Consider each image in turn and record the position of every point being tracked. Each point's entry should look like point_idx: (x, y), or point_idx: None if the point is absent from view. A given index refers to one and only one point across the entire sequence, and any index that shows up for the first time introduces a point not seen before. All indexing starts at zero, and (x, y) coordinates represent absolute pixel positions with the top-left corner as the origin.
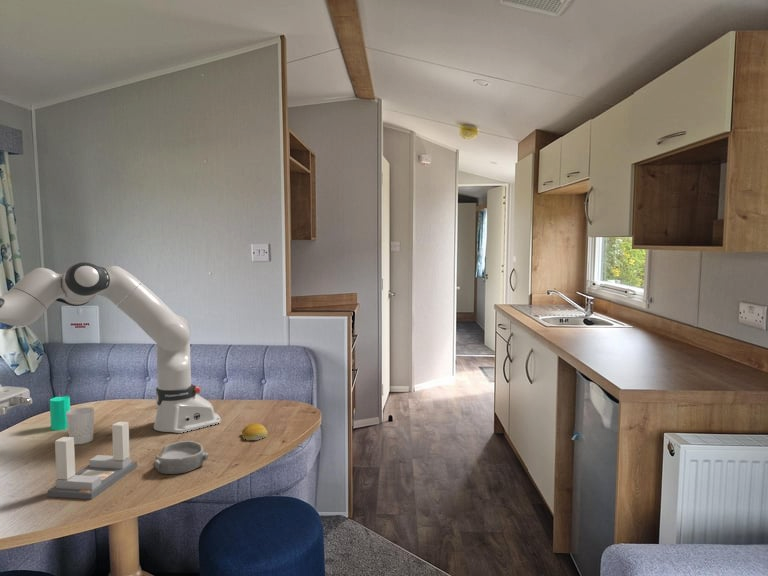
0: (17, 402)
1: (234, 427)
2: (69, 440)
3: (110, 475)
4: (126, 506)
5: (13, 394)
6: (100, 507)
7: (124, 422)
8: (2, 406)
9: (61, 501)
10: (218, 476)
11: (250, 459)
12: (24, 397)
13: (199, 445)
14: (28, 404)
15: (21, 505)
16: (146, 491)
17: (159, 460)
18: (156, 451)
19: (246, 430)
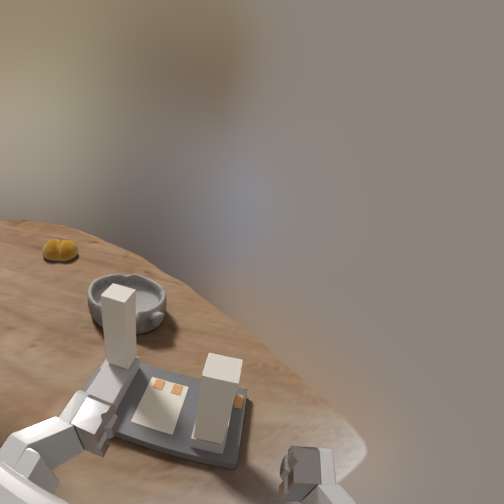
0: (48, 486)
1: (15, 263)
2: (227, 358)
3: (168, 380)
4: (265, 351)
5: (21, 481)
6: (271, 377)
7: (112, 287)
8: (295, 475)
9: (255, 437)
10: (179, 284)
11: (135, 263)
12: (60, 424)
13: (114, 275)
14: (113, 420)
15: (278, 497)
16: (217, 339)
17: (157, 311)
18: (49, 337)
19: (62, 249)
